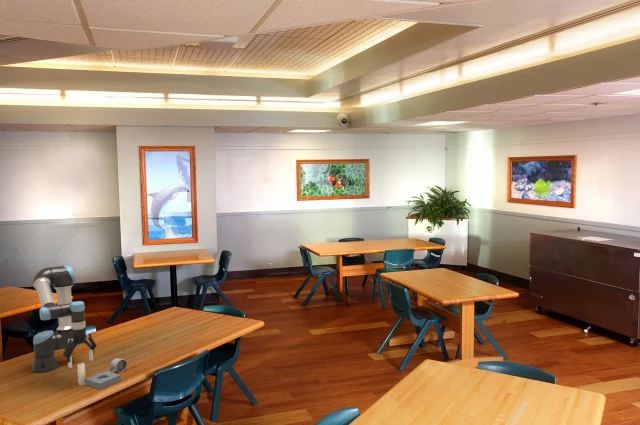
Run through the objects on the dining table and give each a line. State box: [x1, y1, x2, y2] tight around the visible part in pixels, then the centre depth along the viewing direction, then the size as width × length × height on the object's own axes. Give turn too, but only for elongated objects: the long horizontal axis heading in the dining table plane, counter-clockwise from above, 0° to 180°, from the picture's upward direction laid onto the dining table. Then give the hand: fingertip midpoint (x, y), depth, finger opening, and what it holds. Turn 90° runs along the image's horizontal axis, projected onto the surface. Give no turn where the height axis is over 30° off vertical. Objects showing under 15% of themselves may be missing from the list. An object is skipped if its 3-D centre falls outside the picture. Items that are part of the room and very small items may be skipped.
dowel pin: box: [76, 362, 86, 386], centre depth 310 cm, size 4×4×12 cm
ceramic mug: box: [107, 357, 128, 374], centre depth 329 cm, size 11×8×8 cm
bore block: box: [84, 370, 122, 390], centre depth 311 cm, size 14×14×4 cm
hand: (81, 363), depth 309 cm, fingers open, 13 cm apart
